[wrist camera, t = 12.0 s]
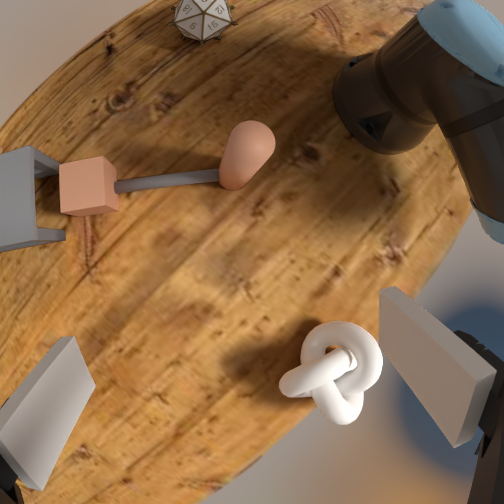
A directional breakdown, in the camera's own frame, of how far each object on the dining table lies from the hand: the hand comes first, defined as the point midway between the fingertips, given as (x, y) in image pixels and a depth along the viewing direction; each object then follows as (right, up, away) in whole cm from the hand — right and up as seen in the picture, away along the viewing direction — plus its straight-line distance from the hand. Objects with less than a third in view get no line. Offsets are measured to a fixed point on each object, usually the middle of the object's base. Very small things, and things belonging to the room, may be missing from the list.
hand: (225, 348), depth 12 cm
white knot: (+10, -11, +27) cm, 31 cm away
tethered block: (-9, +12, +23) cm, 27 cm away
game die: (-6, +33, +23) cm, 41 cm away
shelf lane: (-28, +9, +20) cm, 36 cm away
